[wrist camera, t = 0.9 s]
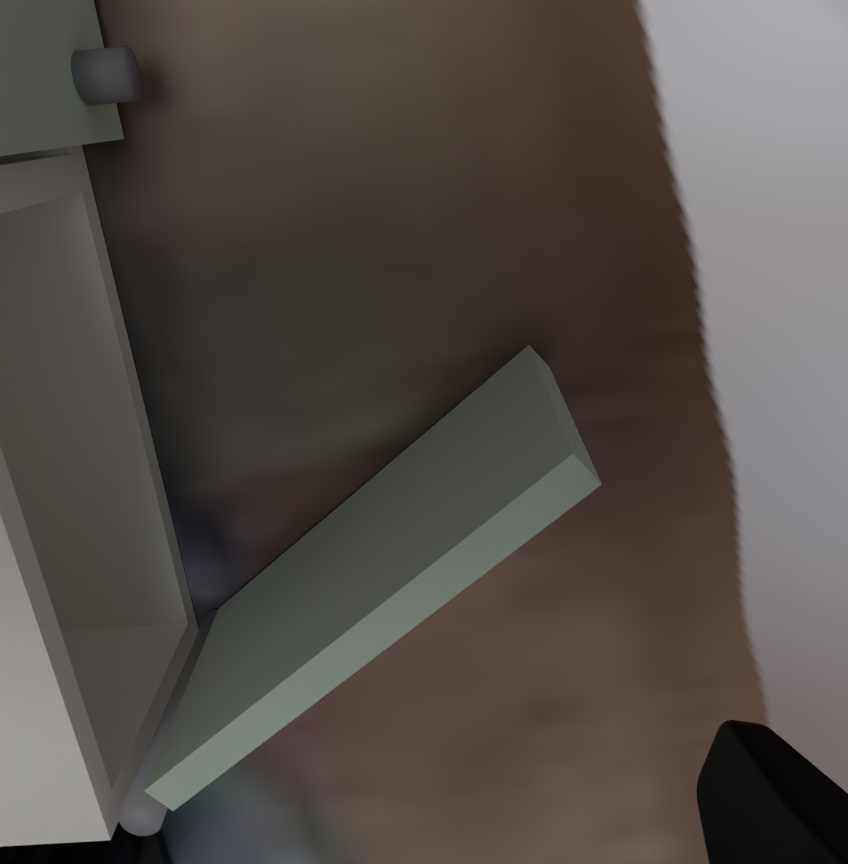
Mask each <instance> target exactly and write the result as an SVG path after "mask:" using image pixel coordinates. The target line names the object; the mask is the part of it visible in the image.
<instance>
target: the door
mask: <svg viewBox="0 0 848 864" xmlns="http://www.w3.org/2000/svg"><path fill="white" fill-rule="evenodd" d="M600 485H602V484H601V481H600V479H599V477H598V475H597V472H596V470H595V468H594V466H593V463H592V461H591V459H590V457H589V454H588V452H587V450H586V448H585V445H584V443H583V441H582V439H581V437H580V434H579V432H578V430H577V428H576V425H575V423H574V421H573V419H572V416H571V414H570V412H569V410H568V407H567V405H566V403H565V401H564V399H563V396H562V394H561V392H560V390H559V387H558V385H557V383H556V381H555V378H554V376H553V374H552V372H551V369H550V367H549V366H548V365H547V364H546V363H545V362H544V361H543V360H542V358H541V357H540V356H539V355H538V354H537V353H536V352H535V351H534V350H533V349H532V347H531V346H530V345H528V346H527V347H526V348H524V349H523V350H522V351H521V352H520V353H518V354H517V355H516V356H515V357H514V358H513V359H511V360H510V361H509V362H508V363H507V364H506V365H504V366H503V367H502V368H501V369H500V370H498V371H497V372H496V373H495V374H494V375H493V376H491V377H490V378H489V379H488V380H487V381H486V382H484V383H483V384H482V385H481V386H480V387H478V388H477V389H476V390H475V391H474V392H473V393H471V394H470V395H469V396H468V397H467V398H466V399H464V400H463V401H462V402H461V403H460V404H458V405H457V406H456V407H455V408H454V409H453V410H451V411H450V412H449V413H448V414H447V415H446V416H444V417H443V418H442V419H441V420H440V421H438V422H437V423H436V424H435V425H434V426H433V427H431V428H430V429H429V430H428V431H427V432H426V433H424V434H423V435H422V436H421V437H420V438H418V439H417V440H416V441H415V442H414V443H413V444H411V445H410V446H409V447H408V448H407V449H406V450H404V451H403V452H402V453H401V454H400V455H398V456H397V457H396V458H395V459H394V460H393V461H391V462H390V463H389V464H388V465H387V466H386V467H384V468H383V469H382V470H381V471H380V472H378V473H377V474H376V475H375V476H374V477H373V478H371V479H370V480H369V481H368V482H367V483H366V484H364V485H363V486H362V487H361V488H360V489H358V490H357V491H356V492H355V493H354V494H353V495H351V496H350V497H349V498H348V499H347V500H346V501H344V502H343V503H342V504H341V505H340V506H339V507H337V508H336V509H335V510H334V511H333V512H331V513H330V514H329V515H328V516H327V517H326V518H324V519H323V520H322V521H321V522H320V523H319V524H317V525H316V526H315V527H314V528H313V529H311V530H310V531H309V532H308V533H307V534H306V535H304V536H303V537H302V538H301V539H300V540H299V541H297V542H296V543H295V544H294V545H293V546H291V547H290V548H289V549H288V550H287V551H286V552H284V553H283V554H282V555H281V556H280V557H279V558H277V559H276V560H275V561H274V562H273V563H271V564H270V565H269V566H268V567H267V568H266V569H264V570H263V571H262V572H261V573H260V574H259V575H257V576H256V577H255V578H254V579H253V580H251V581H250V582H249V583H248V584H247V585H246V586H244V587H243V588H242V589H241V590H240V591H239V592H237V593H236V594H235V595H234V596H233V597H231V598H230V599H229V600H228V601H227V602H226V603H224V604H223V605H222V606H221V607H220V608H219V609H218V610H212V611H210V612H208V613H207V614H206V615H205V617H204V619H203V622H202V624H201V626H200V629H199V631H198V633H197V636H196V638H195V640H194V643H193V645H192V647H191V650H190V652H189V654H188V657H187V659H186V661H185V664H184V666H183V668H182V671H181V673H180V675H179V677H178V680H177V682H176V684H175V687H174V689H173V691H172V694H171V696H170V698H169V701H168V703H167V705H166V708H165V710H164V712H163V715H162V717H161V719H160V722H159V724H158V726H157V729H156V731H155V733H154V736H153V738H152V740H151V743H150V745H149V747H148V749H147V752H146V754H145V756H144V759H143V761H142V763H141V766H140V768H139V770H138V773H137V775H136V777H135V780H134V782H133V784H132V787H131V789H130V791H129V794H128V796H127V798H126V801H125V803H124V805H123V808H122V810H121V812H120V815H119V822H120V825H121V826H122V827H123V828H124V829H125V830H126V831H127V832H129V833H131V834H134V835H137V836H149V835H153V834H155V833H156V832H158V831H159V829H160V828H161V826H162V823H163V820H164V817H165V815H166V812H167V809H168V808H169V809H170V810H172V811H174V810H176V809H177V808H178V807H180V806H181V805H182V804H183V803H185V802H186V801H187V800H189V799H190V798H191V797H193V796H194V795H195V794H197V793H198V792H199V791H201V790H202V789H203V788H204V787H206V786H207V785H208V784H210V783H211V782H212V781H214V780H215V779H216V778H218V777H219V776H220V775H221V774H223V773H224V772H225V771H227V770H228V769H229V768H231V767H232V766H233V765H235V764H236V763H237V762H239V761H240V760H241V759H242V758H244V757H245V756H246V755H248V754H249V753H250V752H252V751H253V750H254V749H256V748H257V747H258V746H260V745H261V744H262V743H263V742H265V741H266V740H267V739H269V738H270V737H271V736H273V735H274V734H275V733H277V732H278V731H279V730H280V729H282V728H283V727H284V726H286V725H287V724H288V723H290V722H291V721H292V720H294V719H295V718H296V717H298V716H299V715H300V714H301V713H303V712H304V711H305V710H307V709H308V708H309V707H311V706H312V705H313V704H315V703H316V702H317V701H319V700H320V699H321V698H322V697H324V696H325V695H326V694H328V693H329V692H330V691H332V690H333V689H334V688H336V687H337V686H338V685H340V684H341V683H342V682H343V681H345V680H346V679H347V678H349V677H350V676H351V675H353V674H354V673H355V672H357V671H358V670H359V669H360V668H362V667H363V666H364V665H366V664H367V663H368V662H370V661H371V660H372V659H374V658H375V657H376V656H378V655H379V654H380V653H381V652H383V651H384V650H385V649H387V648H388V647H389V646H391V645H392V644H393V643H395V642H396V641H397V640H399V639H400V638H401V637H402V636H404V635H405V634H406V633H408V632H409V631H410V630H412V629H413V628H414V627H416V626H417V625H418V624H420V623H421V622H422V621H423V620H425V619H426V618H427V617H429V616H430V615H431V614H433V613H434V612H435V611H437V610H438V609H439V608H440V607H442V606H443V605H444V604H446V603H447V602H448V601H450V600H451V599H452V598H454V597H455V596H456V595H458V594H459V593H460V592H461V591H463V590H464V589H465V588H467V587H468V586H469V585H471V584H472V583H473V582H475V581H476V580H477V579H479V578H480V577H481V576H482V575H484V574H485V573H486V572H488V571H489V570H490V569H492V568H493V567H494V566H496V565H497V564H498V563H499V562H501V561H502V560H503V559H505V558H506V557H507V556H509V555H510V554H511V553H513V552H514V551H515V550H517V549H518V548H519V547H520V546H522V545H523V544H524V543H526V542H527V541H528V540H530V539H531V538H532V537H534V536H535V535H536V534H538V533H539V532H540V531H541V530H543V529H544V528H545V527H547V526H548V525H549V524H551V523H552V522H553V521H555V520H556V519H557V518H559V517H560V516H561V515H562V514H564V513H565V512H566V511H568V510H569V509H570V508H572V507H573V506H574V505H576V504H577V503H578V502H579V501H581V500H582V499H583V498H585V497H586V496H587V495H589V494H590V493H591V492H593V491H594V490H595V489H597V488H598V487H599V486H600Z"/></svg>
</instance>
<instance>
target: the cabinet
mask: <svg viewBox="0 0 848 864" xmlns="http://www.w3.org/2000/svg"><path fill="white" fill-rule="evenodd" d="M142 94H143V84H142V77H141V72H140V68H139V65H138V62H137V59H136V57H135V55H134V53H133V51H132V50H131V49H130V48H129V47H128V46H121V47H110V48H104V45H103V40H102V36H101V31H100V27H99V22H98V18H97V13H96V9H95V4H94V0H0V847H2V846H20V845H37V844H55V843H72V842H90V841H107V840H111V838H112V836H113V833H114V831H115V829H116V826H117V824H118V822H119V815H120V812H121V810H122V808H123V805H124V803H125V801H126V798H127V796H128V794H129V791H130V789H131V787H132V784H133V782H134V780H135V777H136V775H137V773H138V770H139V768H140V766H141V763H142V761H143V759H144V756H145V754H146V752H147V749H148V747H149V745H150V743H151V740H152V738H153V736H154V733H155V731H156V729H157V726H158V724H159V722H160V719H161V717H162V715H163V712H164V710H165V708H166V705H167V703H168V701H169V698H170V696H171V694H172V691H173V689H174V687H175V684H176V682H177V680H178V677H179V675H180V673H181V671H182V668H183V666H184V664H185V661H186V659H187V657H188V654H189V652H190V650H191V647H192V645H193V643H194V640H195V638H196V636H197V633H198V631H199V630H198V626H197V622H196V618H195V614H194V609H193V605H192V601H191V597H190V593H189V589H188V585H187V580H186V576H185V572H184V568H183V564H182V560H181V555H180V551H179V547H178V543H177V539H176V535H175V530H174V526H173V522H172V518H171V514H170V510H169V506H168V501H167V497H166V493H165V489H164V485H163V481H162V476H161V472H160V468H159V464H158V460H157V456H156V451H155V447H154V443H153V439H152V435H151V431H150V427H149V422H148V418H147V414H146V410H145V406H144V402H143V397H142V393H141V389H140V385H139V381H138V377H137V372H136V368H135V364H134V360H133V356H132V352H131V348H130V343H129V339H128V335H127V331H126V327H125V323H124V318H123V314H122V310H121V306H120V302H119V298H118V294H117V289H116V285H115V281H114V277H113V273H112V269H111V264H110V260H109V256H108V252H107V248H106V244H105V239H104V235H103V231H102V227H101V223H100V219H99V215H98V210H97V206H96V202H95V198H94V194H93V190H92V185H91V181H90V177H89V173H88V169H87V165H86V160H85V156H84V152H83V148H82V145H84V144H92V143H99V142H106V141H113V140H120V139H124V136H123V131H122V127H121V122H120V118H119V113H118V109H117V104H116V103H124V102H135V101H140V100H141V98H142Z"/></svg>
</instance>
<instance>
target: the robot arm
mask: <svg viewBox="0 0 848 864" xmlns="http://www.w3.org/2000/svg"><path fill="white" fill-rule="evenodd" d="M697 802H698V808H699V813H700V818H701V823H702V829H703V834H704V839H705V844H706V849H707V854H708V859H709V864H848V793H846V792H845V791H844V790H843V789H842V788H841V787H839V786H838V785H837V784H836V783H834V782H833V781H832V780H831V779H830V778H829V777H827V776H826V775H825V774H824V773H823V772H821V771H820V770H819V769H818V768H816V767H815V766H814V765H813V764H812V763H811V762H809V761H808V760H807V759H806V758H804V757H803V756H802V755H801V754H800V753H799V752H797V751H796V750H795V749H794V748H793V747H792V746H790V745H789V744H788V743H787V742H786V741H784V740H783V739H782V738H781V737H780V736H778V735H777V734H776V733H775V732H773V731H772V730H771V729H770V728H769V727H767V726H765V725H762V724H758V723H752V722H744V721H737V720H728V721H725V722H724V723H723V724H722V725H721V726H720V727H719V729H718V731H717V733H716V736H715V738H714V741H713V743H712V745H711V748H710V750H709V753H708V755H707V758H706V760H705V762H704V765H703V767H702V770H701V772H700V775H699V778H698V783H697ZM0 864H171V862H170V859H169V856H168V852H167V849H166V846H165V842H164V839H163V836H162V832H161V829H159V831H158V832H156V833H155V834H153V835H149V836H137V835H134V834H131V833H129V832H127V831H126V830H125V829H124V828H123V827H122V826H121V825H120V822H118V824H117V826H116V829H115V831H114V833H113V836H112V838H111V840H107V841H90V842H72V843H55V844H37V845H20V846H2V847H0Z"/></svg>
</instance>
